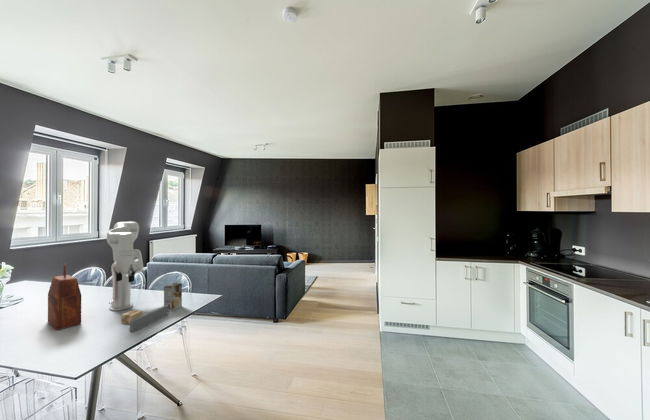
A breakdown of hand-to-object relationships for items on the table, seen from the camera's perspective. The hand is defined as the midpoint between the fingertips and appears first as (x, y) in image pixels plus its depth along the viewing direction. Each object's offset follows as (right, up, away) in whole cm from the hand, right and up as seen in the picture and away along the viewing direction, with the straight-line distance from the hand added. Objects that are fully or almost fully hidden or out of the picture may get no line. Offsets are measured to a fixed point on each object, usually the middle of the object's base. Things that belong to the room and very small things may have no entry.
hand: (125, 281), depth 158 cm
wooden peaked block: (-30, -23, -8) cm, 38 cm away
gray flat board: (+19, -23, -6) cm, 31 cm away
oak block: (+7, -23, -3) cm, 24 cm away
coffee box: (+20, -23, +17) cm, 35 cm away
